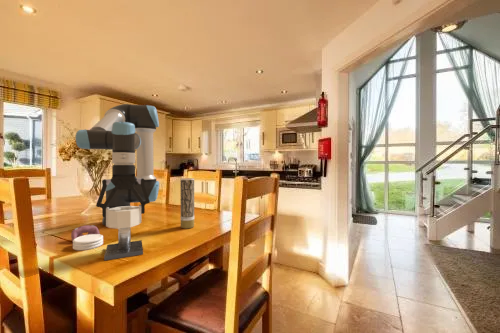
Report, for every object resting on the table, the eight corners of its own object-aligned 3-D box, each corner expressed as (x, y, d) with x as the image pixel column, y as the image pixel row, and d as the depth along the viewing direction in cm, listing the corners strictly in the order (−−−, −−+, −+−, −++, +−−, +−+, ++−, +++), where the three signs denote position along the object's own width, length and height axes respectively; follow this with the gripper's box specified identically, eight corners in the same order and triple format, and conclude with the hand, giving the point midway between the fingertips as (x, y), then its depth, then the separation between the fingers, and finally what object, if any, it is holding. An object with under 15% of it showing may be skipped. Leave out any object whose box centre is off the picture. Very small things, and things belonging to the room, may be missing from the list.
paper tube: (190, 229, 116) (190, 179, 115) (178, 228, 117) (178, 178, 116) (196, 225, 122) (196, 178, 122) (184, 224, 124) (184, 177, 123)
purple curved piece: (98, 240, 104) (96, 224, 106) (101, 237, 101) (99, 222, 103) (71, 245, 97) (69, 229, 99) (72, 243, 94) (71, 226, 96)
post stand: (107, 248, 90) (107, 216, 90) (141, 243, 95) (141, 213, 95) (104, 260, 79) (103, 224, 79) (142, 254, 85) (142, 220, 84)
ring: (109, 222, 89) (109, 207, 89) (138, 220, 94) (138, 205, 94) (107, 229, 80) (107, 212, 80) (139, 226, 85) (139, 209, 85)
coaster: (108, 241, 98) (108, 233, 98) (93, 251, 88) (93, 241, 88) (84, 241, 98) (84, 233, 98) (66, 251, 88) (66, 242, 88)
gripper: (85, 164, 78) (86, 230, 78) (157, 164, 88) (157, 222, 89) (89, 164, 85) (89, 225, 85) (155, 164, 95) (155, 218, 95)
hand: (124, 223), depth 87 cm, fingers closed on ring, 10 cm apart
